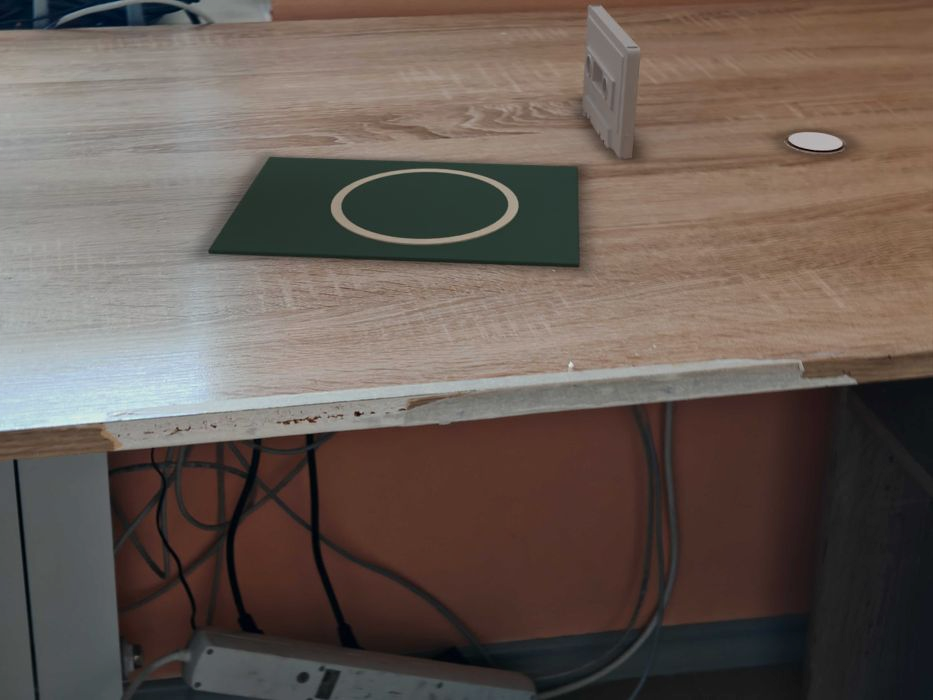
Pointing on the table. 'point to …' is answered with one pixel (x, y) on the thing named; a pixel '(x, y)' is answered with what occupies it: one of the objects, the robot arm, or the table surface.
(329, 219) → the desk mat
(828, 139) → the white rimmed disc
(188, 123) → the table surface
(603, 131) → the cassette
